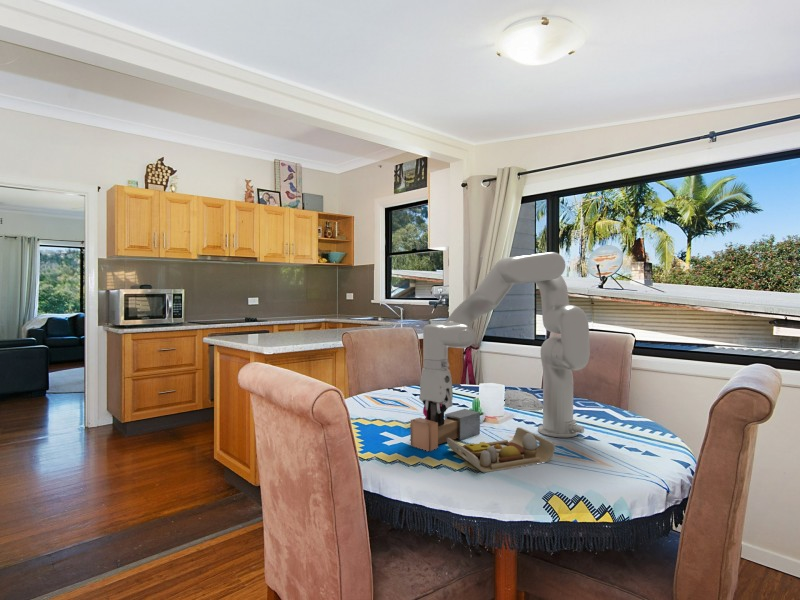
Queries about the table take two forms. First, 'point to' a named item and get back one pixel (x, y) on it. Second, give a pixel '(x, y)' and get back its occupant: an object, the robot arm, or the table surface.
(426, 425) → the brown block
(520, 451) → the toy food set
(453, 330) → the robot arm
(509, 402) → the grey carved stone
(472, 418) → the sleeve
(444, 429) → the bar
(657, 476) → the table surface
